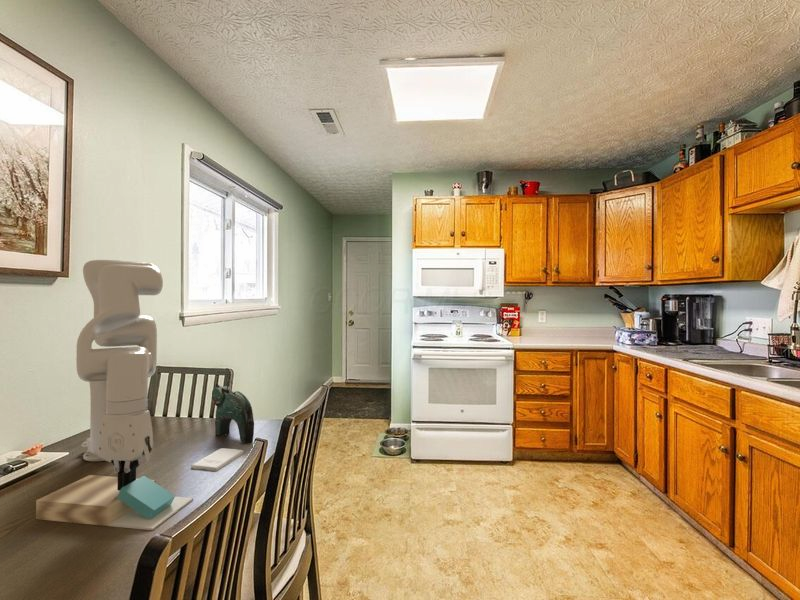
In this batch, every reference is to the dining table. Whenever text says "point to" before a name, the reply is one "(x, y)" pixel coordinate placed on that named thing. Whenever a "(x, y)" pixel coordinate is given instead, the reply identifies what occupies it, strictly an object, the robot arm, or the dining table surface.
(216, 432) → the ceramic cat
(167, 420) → the dining table surface
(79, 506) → the tan wooden flat block
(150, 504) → the teal rectangular slab
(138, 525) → the mat
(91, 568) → the dining table surface
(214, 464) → the external hard drive
